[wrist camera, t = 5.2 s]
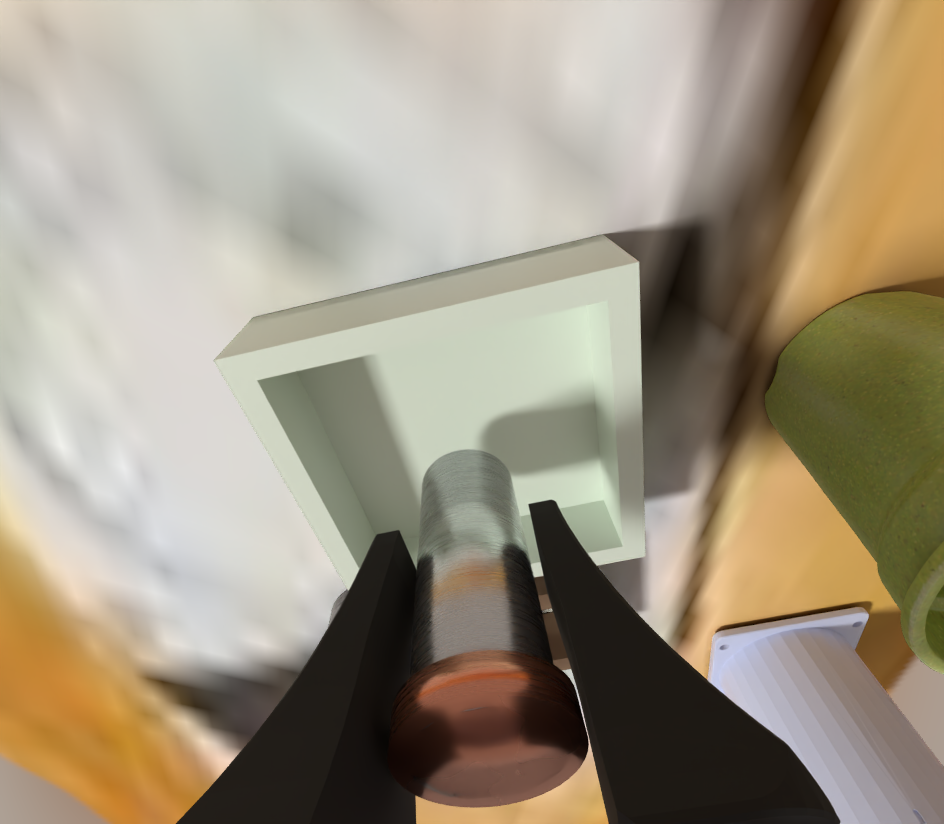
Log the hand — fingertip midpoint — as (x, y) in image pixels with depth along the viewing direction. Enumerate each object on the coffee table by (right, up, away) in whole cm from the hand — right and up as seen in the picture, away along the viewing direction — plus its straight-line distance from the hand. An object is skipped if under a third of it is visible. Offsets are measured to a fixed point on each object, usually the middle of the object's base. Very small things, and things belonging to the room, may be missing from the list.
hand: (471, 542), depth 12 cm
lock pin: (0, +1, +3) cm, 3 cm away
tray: (0, +3, +5) cm, 6 cm away
